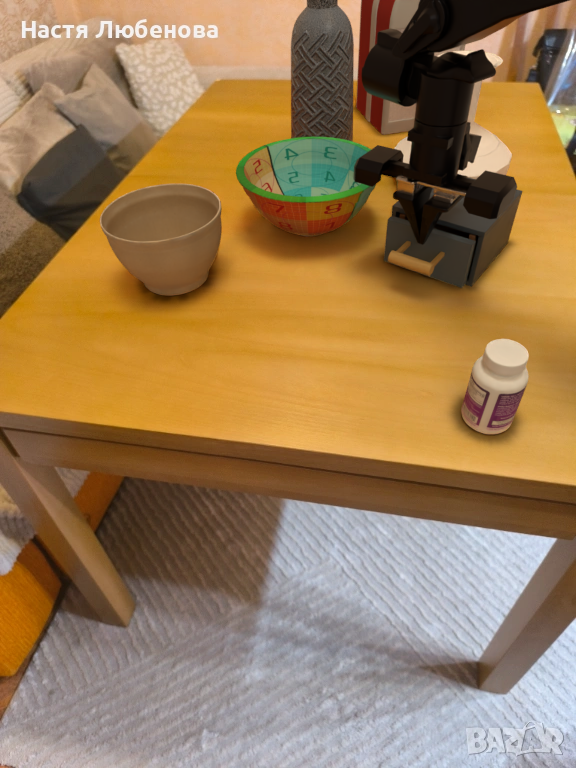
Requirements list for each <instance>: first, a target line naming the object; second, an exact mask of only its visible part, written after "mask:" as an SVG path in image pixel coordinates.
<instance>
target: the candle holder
mask: <svg viewBox="0 0 576 768" xmlns="http://www.w3.org/2000/svg"><path fill="white" fill-rule="evenodd" d="M474 51H475V50H471V49H470V50H468V49H465V51H452V52H455V53H459V54H463V55H467V54H469V53H471V52H474ZM446 53H447V52H446ZM443 54H444V53H443ZM441 55H442V54H440V55H438V57H440V56H441ZM485 55H486V57H487V59H488V60H489V61H490V62H491V63H492V64H493V66H494V68H495V69H496V68H498V67H499V66H501V65H502V63H504V59H503V58H502V57H501V56H499V55H497V54H495V53H492V52H487V51H485ZM482 85H483V80H482V81H479V82H476V83H474V89H473V94H472V99H471V104H470V110H469V115H468V120H467V122H471V123H470V132H469V133H470V134H475V135H480V136H482V137H481V140H480V144H479V147H478V150H477V153H476V156H475V159H474V163H470V162H468V164H467V167H466V168H465V169H464V170H463V171H462V170H458V173H457V174H460V175H464V176H467V177H469V178H473V179H477V178H478V177H479V176H480V175H481V174H482V173H483V172H484V171H485V170H486V171H490V172H494V173H498V174H503V175H507V174H508V171H509V169H510V165H511V162H512V158H513V153H512V152H511V150H510V149H509V148H508V146H507V144H506V143H504V142H503V141H502V140H501V139H500V137H498V136H497V135H496V134H494V133H493V132H491V131H490V130H488V129H486V128H485V127H484V126H482V125H480V124H479V123H477V122H476V121H475V119H476V116H477V115H476V114H477V110H478V104H479V101H480V96H481V95H480V94H481V90H482V89H481V88H482ZM407 137H408V135H407V136H405V137H404V138H402V139H400V140H399V141H398V143H397V144H396V146H394V148H393V149H397V150H401V151H402V153H403V155H404V157H403V162H404V163H408V164H409V160H410V152H411V144H412V142H411V141H407Z"/></svg>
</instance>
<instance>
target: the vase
mask: <svg viewBox="0 0 576 768" xmlns="http://www.w3.org/2000/svg"><path fill="white" fill-rule="evenodd" d="M338 1H339V0H306V6H305V8H304V9H303V10H302V11H301V12H300V13H299V15H298V16H297V18H296V20H295V22H294V23H293V27H292V32H291V37H290V38H291V39H290V138H299V137H331V138H339V139H344V140H349V141H353V142H354V67H355V66H354V65H355V64H354V53H355V51H354V50H355V49H354V47H355V46H354V33H353V27H352V24H351V23H352V22H351V21H350V18H349V17H348V15H347V14H346V13H345V11H344V10H343V9H342V8H341V7H340V6H339V5H338Z"/></svg>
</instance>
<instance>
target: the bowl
mask: <svg viewBox="0 0 576 768" xmlns="http://www.w3.org/2000/svg"><path fill="white" fill-rule="evenodd" d="M371 149H372V148H369V147H368V146H366V145H363V144H361V143H358V142H355V141H354V140H353V141H349V140H344V139H339V138H331V137H299V138H291V137H290V138H286V139H281V140H277V141H273V142H270V143H266V144H264V145H261V146H259V147H257V148H255V149H253V150H251V151H249V152H248V153H246V155H245V156H243V157H242V158H241V159H240V161H238V164H237V165H236V168H235V176H236V179H237V181H238V183H239V184H240V186H241V187H242V188H243V191H244V192H245V194H246V196H247V197H248V198H249V199H250V201H251V203H252V204H253V206H254V208H255V209H256V210H257V212H258V213H259V214H260V215H261V216H262V217H263V218H264V219H265V220H266V221H268V223H270V224H271V225H273V226H275V227H276V228H278V229H280V230H283V231H284V232H287V233H289V234H294V235H298V236H303V237H317V236H321V235H323V234H327V233H331V232H333V231H335V230H337V229H339V228H341V227H342V226H344V225H346V224H347V223H349V222H350V221H351V220H352V219H353V218H354V217H355V216H357V215H358V214H359V212H361V210H362V208H364V206H365V204H366V203H367V201H368V200H369V198H370V195H371V194H372V193H373V191H374V190H375V188H376V186H377V184H375V185H374V186H373V187H371V186H368V185H364V184H361V183H357V182H355V181H354V179H353V177H354V165H355V163H356V161H357V160H358V159H359V158H360V157H361V156H363V155H364V154H366V153H367V152H368V151H370V150H371Z"/></svg>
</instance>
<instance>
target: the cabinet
mask: <svg viewBox="0 0 576 768" xmlns="http://www.w3.org/2000/svg"><path fill="white" fill-rule="evenodd" d="M468 178H469V177H468ZM469 179H473V178H469ZM473 180H476V179H473ZM433 191H434V188H433V189H432V191H431V194H430V197H429V199H430V198H431V197H432V196H433V195H434V193H433ZM523 192H524V191H523V190H521V189H518V188H517V189H516V193H515V196H514V200H513V201H512V202H511V203H510V204H509V205H508V207H507V208H506V209H505V210H504V211H503V212H502V213H501V214H500V215H499V217H498V218H497V219H487V218H483V217H480V216H476V215H473V214H469V213H468V212H467V211H466V209H465V208H464V206H463V203H464V198H465V196H464V197H463V198H462V199H461V200H460V201H459V202H458V203H457V204H456V205H455V206H454V207H453V208H451V209H450V210H449V211H448V212H446V213H442V215H441V216H440V218H439V220H438V221H437V224H440V225H444V226H447V227H450V228H454V229H457V230H460V231H464V232H467V233H470V234H474V235H477V236H479V237H478V242H477V246H476V250H475V254H474V258H473V262H472V266H471V271H470V272H469V273H468V276H467V280H466V284H465V285H464V286H469V287H471V288H472V287H473V286H474V285H475V284H476V283H477V281H478V280H479V279H480V277H481V276H482V275H483V274H484V272H486V270H487V269H488V268H489V266H490V265H491V264H492V263H493V262H494V260H495V259H496V257H498V255H499V254H500V253H501V252H502V251H503V249H504V248H505V247H506V246H507V244H508V243H509V241H510V240H509V239H510V236H511V233H512V229H513V226H514V223H515V220H516V216H517V212H518V208H519V205H520V201H521V198H522V196H523ZM401 213H403V214H405V212H404V210H403V208H402V206H401V204H400V202H399V201H398V200H396V202H395V203H393V204H392V206H391V215H390V217H391V216H395V217H398V218H400V214H401Z"/></svg>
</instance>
